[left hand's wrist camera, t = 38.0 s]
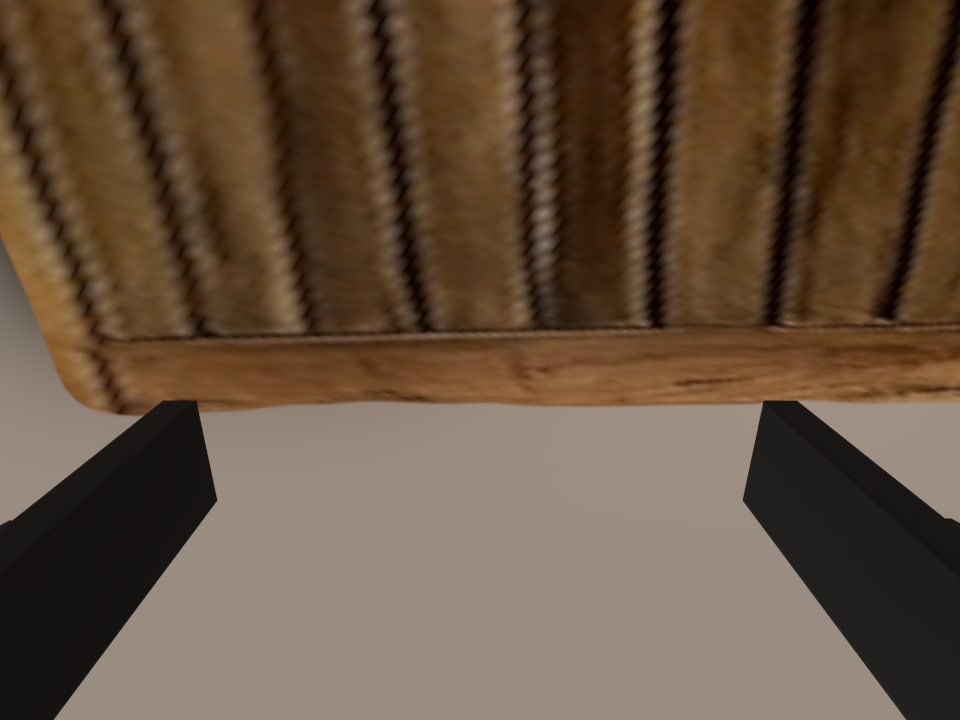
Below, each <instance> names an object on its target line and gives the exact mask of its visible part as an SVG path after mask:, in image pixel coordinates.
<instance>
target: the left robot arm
mask: <svg viewBox="0 0 960 720" xmlns="http://www.w3.org/2000/svg"><path fill="white" fill-rule="evenodd" d="M216 502H217V497H216V492H215V487H214V482H213V478H212V473H211V468H210V463H209V459H208V454H207V449H206V445H205V440H204V435H203V430H202V426H201V421H200V416H199V411H198V407H197V402H196V401H162V402H161V403H160V404H158V405H157V406H156V407H155V408H153V409H152V410H151V411H150V412H148V413H147V414H146V415H145V416H143V417H142V418H141V419H139V420H138V421H137V422H136V423H134V424H133V425H132V426H131V427H129V428H128V429H127V430H126V431H124V432H123V433H122V434H121V435H119V436H118V437H117V438H116V439H114V440H113V441H112V442H111V443H109V444H108V445H107V446H106V447H104V448H103V449H102V450H101V451H99V452H98V453H97V454H96V455H94V456H93V457H92V458H90V459H89V460H88V461H87V462H85V463H84V464H83V465H82V466H81V467H79V468H78V469H77V470H75V471H74V472H73V473H72V474H70V475H69V476H68V477H67V478H65V479H64V480H63V481H62V482H60V483H59V484H58V485H57V486H55V487H54V488H53V489H52V490H50V491H49V492H48V493H47V494H45V495H44V496H43V497H41V498H40V499H39V500H38V501H36V502H35V503H34V504H33V505H31V506H30V507H29V508H28V509H27V510H25V511H24V512H23V513H21V514H20V515H19V516H18V517H16V518H15V519H14V520H10V521H8V522H6V523H4V524H2V525H0V720H54V719H55V717H56V716H57V715H58V713H59V712H60V711H61V709H62V708H63V707H64V705H65V704H66V703H67V701H68V700H69V699H70V697H71V696H72V694H73V693H74V692H75V690H76V689H77V688H78V686H79V685H80V684H81V682H82V681H83V680H84V678H85V677H86V676H87V674H88V673H89V672H90V670H91V669H92V668H93V666H94V665H95V664H96V662H97V661H98V660H99V658H100V657H101V656H102V654H103V653H104V652H105V650H106V649H107V648H108V646H109V645H110V643H111V642H112V641H113V640H114V638H115V637H116V636H117V634H118V633H119V631H120V630H121V629H122V627H123V626H124V625H125V623H126V622H127V621H128V619H129V618H130V617H131V615H132V614H133V613H134V611H135V610H136V609H137V607H138V606H139V605H140V603H141V602H142V601H143V599H144V598H145V597H146V595H147V594H148V593H149V591H150V590H151V589H152V587H153V586H154V585H155V583H156V582H157V580H158V579H159V578H160V577H161V575H162V574H163V573H164V571H165V570H166V569H167V567H168V566H169V564H170V563H171V562H172V560H173V559H174V558H175V556H176V555H177V554H178V552H179V551H180V550H181V548H182V547H183V546H184V544H185V543H186V542H187V540H188V539H189V538H190V536H191V535H192V534H193V532H194V531H195V530H196V528H197V527H198V526H199V524H200V523H201V522H202V520H203V519H204V518H205V516H206V515H207V514H208V512H209V511H210V510H211V508H212V507H213V506H214V504H215V503H216ZM743 502H744V503H745V504H746V506H747V507H748V508H749V510H750V511H751V512H752V514H753V515H754V516H755V518H756V519H757V520H758V522H759V523H760V524H761V526H762V527H763V528H764V530H765V531H766V532H767V534H768V535H769V536H770V538H771V539H772V540H773V542H774V543H775V544H776V546H777V547H778V548H779V550H780V551H781V552H782V554H783V555H784V556H785V558H786V559H787V560H788V562H789V563H790V564H791V566H792V567H793V569H794V570H795V571H796V573H797V574H798V575H799V577H800V578H801V579H802V581H803V582H804V583H805V585H806V586H807V587H808V589H809V590H810V591H811V593H812V594H813V595H814V597H815V598H816V599H817V601H818V602H819V603H820V605H821V606H822V607H823V609H824V610H825V611H826V613H827V614H828V615H829V617H830V618H831V619H832V621H833V622H834V623H835V625H836V626H837V627H838V629H839V630H840V631H841V633H842V634H843V636H844V637H845V638H846V640H847V641H848V642H849V644H850V645H851V646H852V648H853V649H854V650H855V652H856V653H857V654H858V656H859V657H860V658H861V660H862V661H863V662H864V664H865V665H866V666H867V668H868V669H869V670H870V672H871V673H872V674H873V676H874V677H875V678H876V680H877V681H878V682H879V684H880V685H881V686H882V688H883V689H884V690H885V692H886V693H887V694H888V696H889V697H890V698H891V700H892V701H893V702H894V704H895V705H896V707H897V708H898V709H899V711H900V712H901V713H902V714H903V716H904V717H905V719H906V720H960V523H959V522H957V521H955V520H953V519H945V518H944V517H942V516H941V515H940V514H939V513H937V512H936V511H935V510H933V509H932V508H931V507H930V506H929V505H927V504H926V503H925V502H924V501H922V500H921V499H920V498H918V497H917V496H916V495H915V494H913V493H912V492H911V491H910V490H908V489H907V488H906V487H905V486H903V485H902V484H901V483H900V482H898V481H897V480H896V479H895V478H893V477H892V476H891V475H890V474H888V473H887V472H886V471H885V470H883V469H882V468H881V467H880V466H878V465H877V464H876V463H875V462H873V461H872V460H871V459H869V458H868V457H867V456H866V455H864V454H863V453H862V452H861V451H859V450H858V449H857V448H856V447H854V446H853V445H852V444H851V443H849V442H848V441H847V440H846V439H844V438H843V437H842V436H841V435H839V434H838V433H837V432H836V431H834V430H833V429H832V428H831V427H829V426H828V425H827V424H826V423H824V422H823V421H822V420H820V419H819V418H818V417H817V416H815V415H814V414H813V413H812V412H810V411H809V410H808V409H807V408H805V407H804V406H803V405H802V404H800V403H799V402H798V401H764V402H763V407H762V412H761V416H760V421H759V426H758V431H757V435H756V440H755V445H754V449H753V454H752V459H751V463H750V468H749V473H748V478H747V482H746V487H745V492H744V497H743Z"/></svg>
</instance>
